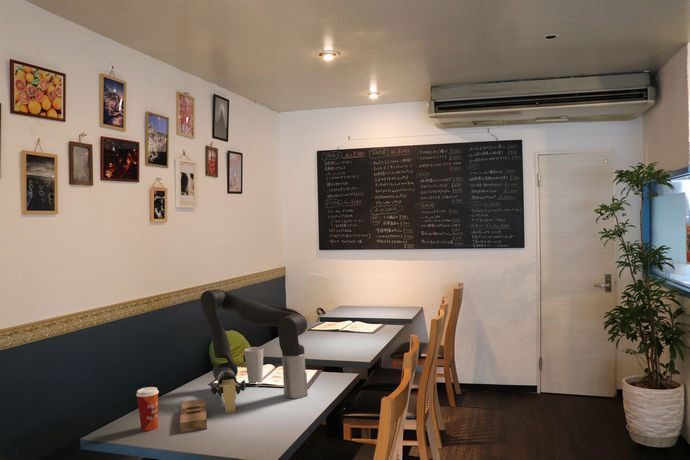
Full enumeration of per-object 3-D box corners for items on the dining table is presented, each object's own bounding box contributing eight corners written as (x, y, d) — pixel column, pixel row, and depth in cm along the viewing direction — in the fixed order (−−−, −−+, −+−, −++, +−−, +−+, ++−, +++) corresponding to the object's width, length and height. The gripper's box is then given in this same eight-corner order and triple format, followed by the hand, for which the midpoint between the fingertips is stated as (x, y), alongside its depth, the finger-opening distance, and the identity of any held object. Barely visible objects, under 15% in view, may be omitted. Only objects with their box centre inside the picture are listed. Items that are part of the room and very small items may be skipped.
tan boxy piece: (235, 406, 224) (234, 378, 224) (236, 412, 217) (235, 383, 217) (223, 408, 223) (222, 380, 222) (224, 413, 216) (222, 385, 216)
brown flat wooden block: (205, 407, 224) (205, 398, 224) (206, 428, 201) (206, 419, 201) (182, 410, 222) (181, 401, 222) (180, 432, 199) (180, 422, 199)
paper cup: (153, 432, 200) (151, 393, 200) (133, 431, 202) (131, 392, 201) (164, 424, 208) (162, 386, 208) (145, 423, 209) (143, 386, 209)
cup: (269, 381, 255) (267, 347, 255) (256, 387, 248) (254, 352, 248) (254, 379, 260) (252, 346, 260) (241, 384, 253) (240, 350, 252)
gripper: (208, 374, 232) (209, 385, 215) (244, 369, 235) (247, 380, 219) (209, 392, 232) (210, 405, 215) (245, 387, 235) (248, 400, 219)
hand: (229, 392), depth 217 cm, fingers open, 5 cm apart
